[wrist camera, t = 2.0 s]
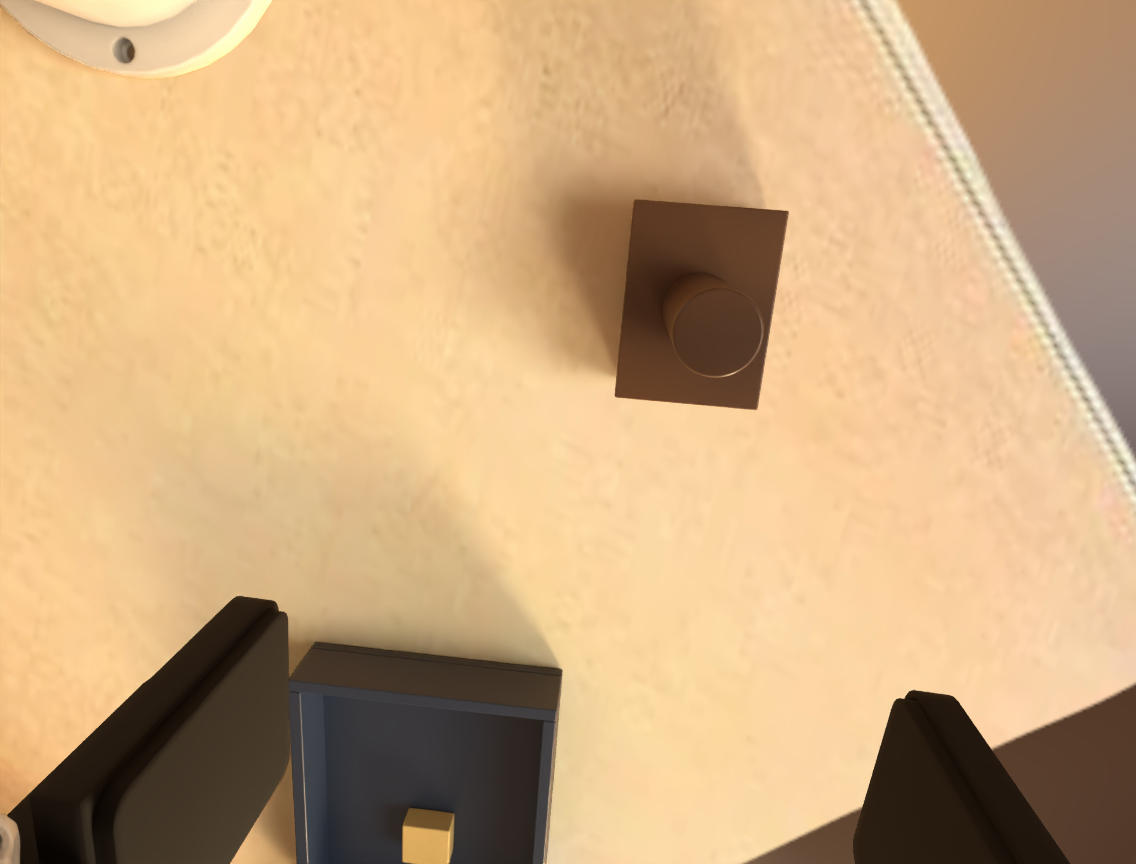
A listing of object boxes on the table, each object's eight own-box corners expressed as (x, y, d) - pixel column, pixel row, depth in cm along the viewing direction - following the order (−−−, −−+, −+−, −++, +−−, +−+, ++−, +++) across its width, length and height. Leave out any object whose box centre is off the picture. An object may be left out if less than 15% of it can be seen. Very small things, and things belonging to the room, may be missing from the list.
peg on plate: (632, 201, 27) (636, 194, 19) (773, 211, 27) (837, 208, 19) (615, 381, 30) (611, 444, 21) (745, 392, 29) (792, 461, 21)
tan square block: (409, 806, 36) (402, 825, 35) (454, 812, 36) (449, 831, 35) (408, 842, 37) (401, 862, 36) (453, 848, 37) (448, 868, 36)
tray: (314, 641, 34) (286, 680, 32) (562, 669, 34) (557, 710, 31) (324, 893, 39) (300, 946, 36) (541, 921, 39) (535, 977, 36)
